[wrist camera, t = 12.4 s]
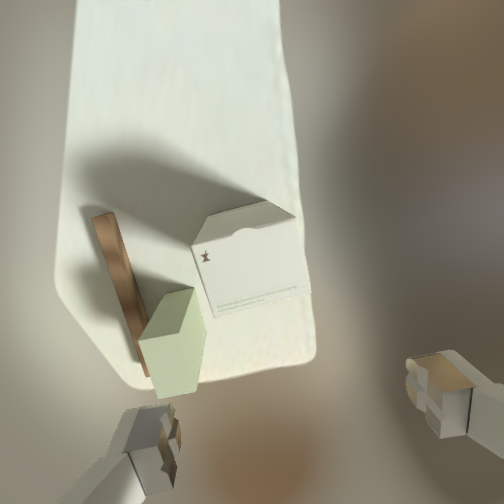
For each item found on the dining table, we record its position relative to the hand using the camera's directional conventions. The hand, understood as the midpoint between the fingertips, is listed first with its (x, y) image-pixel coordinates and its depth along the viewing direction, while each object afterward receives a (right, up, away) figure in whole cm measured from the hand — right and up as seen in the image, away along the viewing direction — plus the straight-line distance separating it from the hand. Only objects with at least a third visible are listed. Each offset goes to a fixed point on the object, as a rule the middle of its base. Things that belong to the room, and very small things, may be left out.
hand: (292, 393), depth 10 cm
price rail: (-17, -1, +28) cm, 33 cm away
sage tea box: (-10, -4, +29) cm, 31 cm away
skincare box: (-2, +8, +26) cm, 28 cm away
